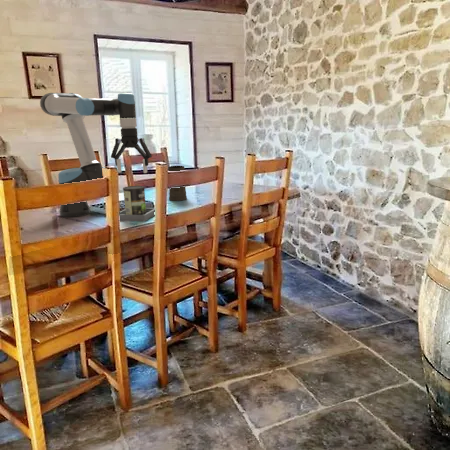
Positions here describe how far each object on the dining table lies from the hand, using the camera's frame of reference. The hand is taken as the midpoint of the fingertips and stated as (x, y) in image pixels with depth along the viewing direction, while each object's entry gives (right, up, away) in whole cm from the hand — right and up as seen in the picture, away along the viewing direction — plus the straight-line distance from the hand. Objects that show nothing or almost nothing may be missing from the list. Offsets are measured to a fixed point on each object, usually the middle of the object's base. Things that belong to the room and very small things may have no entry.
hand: (132, 172), depth 190 cm
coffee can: (+1, -21, +6) cm, 21 cm away
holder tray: (+1, -21, +6) cm, 22 cm away
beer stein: (+16, -10, +48) cm, 52 cm away
